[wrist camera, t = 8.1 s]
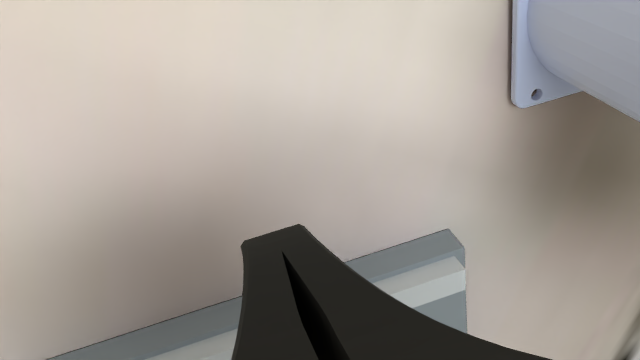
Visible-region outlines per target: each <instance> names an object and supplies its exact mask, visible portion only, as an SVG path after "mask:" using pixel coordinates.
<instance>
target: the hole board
mask: <svg viewBox="0 0 640 360" xmlns="http://www.w3.org/2000/svg"><path fill="white" fill-rule="evenodd" d="M345 264H346V265H348V266H349V267H350V268H352V269H353V270H354V271H355V272H357V273H358V274H359V275H361V276H362V277H364V278H365V279H366V280H368V281H369V282H371V283H372V284H374V285H375V286H377V287H378V288H380V289H381V290H383V291H384V292H386V293H387V294H389V295H390V296H392V297H394V298H395V299H397V300H399V301H400V302H402V303H404V304H405V305H407V306H409V307H411V308H413V309H415V310H416V311H418V312H420V313H422V314H424V315H426V316H428V317H430V318H432V319H434V320H436V321H438V322H440V323H443V324H445V325H447V326H450V327H452V328H455V329H457V330H459V331H462V332H464V333H467V318H466V273H465V253H464V246H463V245H462V244H461V243H460V242H459V240H458V239H457V238H456V237H455V236H454V235H453V233H452V232H451V231H450V230H449V229H446V230H443V231H440V232H437V233H434V234H431V235H428V236H425V237H422V238H419V239H416V240H413V241H410V242H407V243H404V244H400V245H397V246H394V247H391V248H388V249H385V250H382V251H379V252H376V253H373V254H370V255H367V256H364V257H361V258H358V259H354V260H351V261H348V262H345ZM241 305H242V296H241V297H238V298H235V299H232V300H229V301H226V302H223V303H220V304H217V305H214V306H210V307H207V308H204V309H201V310H198V311H195V312H192V313H189V314H186V315H183V316H180V317H177V318H174V319H171V320H168V321H165V322H161V323H158V324H155V325H152V326H149V327H146V328H143V329H140V330H137V331H134V332H131V333H128V334H125V335H122V336H119V337H115V338H112V339H109V340H106V341H103V342H100V343H97V344H94V345H91V346H88V347H85V348H82V349H79V350H76V351H73V352H70V353H66V354H63V355H60V356H57V357H54V358H51V359H48V360H231V358H232V354H233V350H234V346H235V341H236V336H237V330H238V324H239V319H240V313H241Z"/></svg>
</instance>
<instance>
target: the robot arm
mask: <svg viewBox="0 0 640 360" xmlns="http://www.w3.org/2000/svg"><path fill="white" fill-rule="evenodd" d="M536 89H537V92H536V94H535V95H534V96H532V97H531V95H532V93H533V91H534V90H536ZM581 91H584V92H586V93H588V94H590V95H591V96H593V97H595V98H597V99H599V100H600V101H602V102H604V103H606V104H608V105H610V106H611V107H613V108H615V109H617V110H619V111H620V112H622V113H624V114H626V115H628V116H629V117H631V118H633V119H635V120H637V121H638V122H640V0H513V17H512V71H511V100H512V103H513V104H514V105H516V106H517V107H519V108H527V107H530V106H534V105H537V104H541V103H544V102H547V101H551V100H554V99H558V98H561V97H564V96H568V95H571V94H574V93H578V92H581ZM241 250H242V254H243V264H244V280H243V294H242V305H241V313H240V319H239V324H238V330H237V336H236V341H235V346H234V350H233V354H232V358H231V360H551V359H548V358H544V357H540V356H536V355H532V354H528V353H525V352H521V351H517V350H513V349H510V348H506V347H503V346H500V345H497V344H494V343H491V342H488V341H485V340H482V339H479V338H477V337H474V336H471V335H469V334H467V333H464V332H462V331H459V330H457V329H455V328H452V327H450V326H447V325H445V324H443V323H440V322H438V321H436V320H434V319H432V318H430V317H428V316H426V315H424V314H422V313H420V312H418V311H416V310H415V309H413V308H411V307H409V306H407V305H405V304H404V303H402V302H400V301H399V300H397V299H395V298H394V297H392V296H390V295H389V294H387V293H386V292H384V291H383V290H381V289H380V288H378V287H377V286H375V285H374V284H372V283H371V282H369V281H368V280H366V279H365V278H364V277H362V276H361V275H359V274H358V273H357V272H355V271H354V270H353V269H352V268H350V267H349V266H348V265H346V264H345V263H344V262H342V261H341V260H340V259H339V258H338V257H336V256H335V255H334V254H333V253H332V252H331V251H329V250H328V249H327V248H326V247H325V246H324V245H323V244H321V243H320V242H319V241H318V240H317V239H316V238H315V237H314V236H313V235H312V234H311V233H310V232H309V231H308V230H307V229H306V228H305V227H304V226H302V225H300V224H297V225H294V226H291V227H287V228H284V229H281V230H278V231H274V232H271V233H268V234H265V235H262V236H258V237H255V238H252V239H249V240H245V241H244V242H243V244H242V245H241Z"/></svg>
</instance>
